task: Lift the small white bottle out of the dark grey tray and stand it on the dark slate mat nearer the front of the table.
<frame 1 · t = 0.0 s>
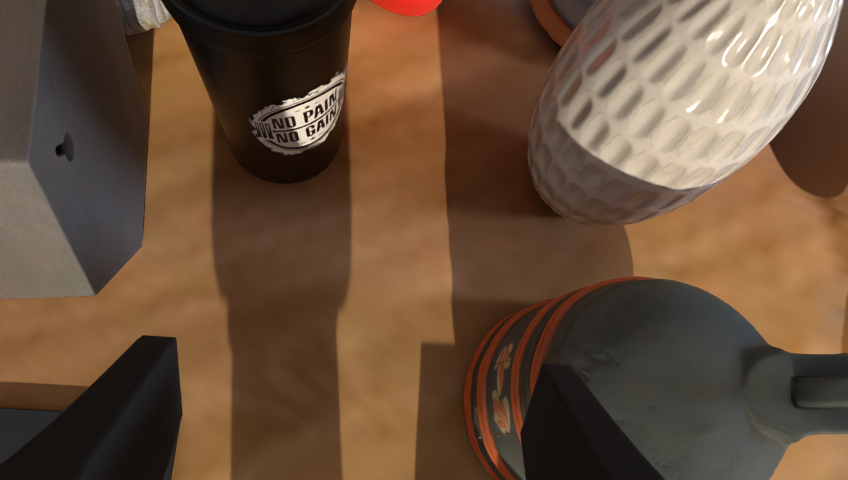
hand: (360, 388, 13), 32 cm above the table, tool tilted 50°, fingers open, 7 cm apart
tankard: (589, 402, 46), on the table
seashell: (99, 22, 50), on the table
planter: (90, 190, 46), on the table
vase: (572, 184, 51), on the table
water bottle: (285, 134, 49), on the table
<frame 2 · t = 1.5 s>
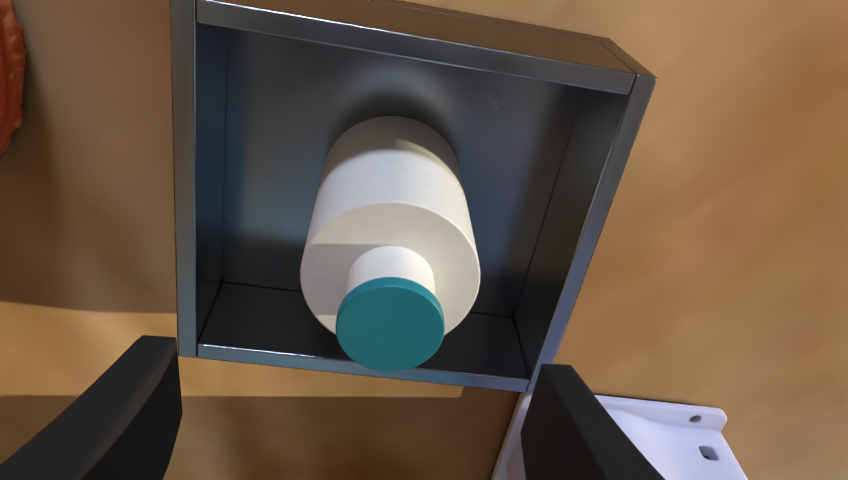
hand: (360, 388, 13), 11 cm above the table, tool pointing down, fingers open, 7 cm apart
bottle: (391, 180, 21), point 1 cm above the table, touching dark grey tray
dark grey tray: (392, 170, 22), on the table
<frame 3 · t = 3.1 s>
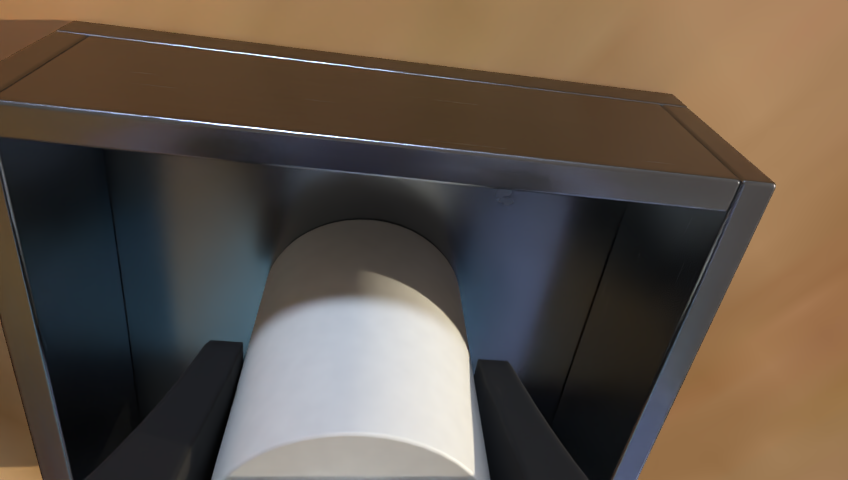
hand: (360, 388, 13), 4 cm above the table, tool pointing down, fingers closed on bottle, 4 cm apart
bottle: (363, 302, 15), point 1 cm above the table, touching dark grey tray, gripper
dark grey tray: (364, 282, 16), on the table
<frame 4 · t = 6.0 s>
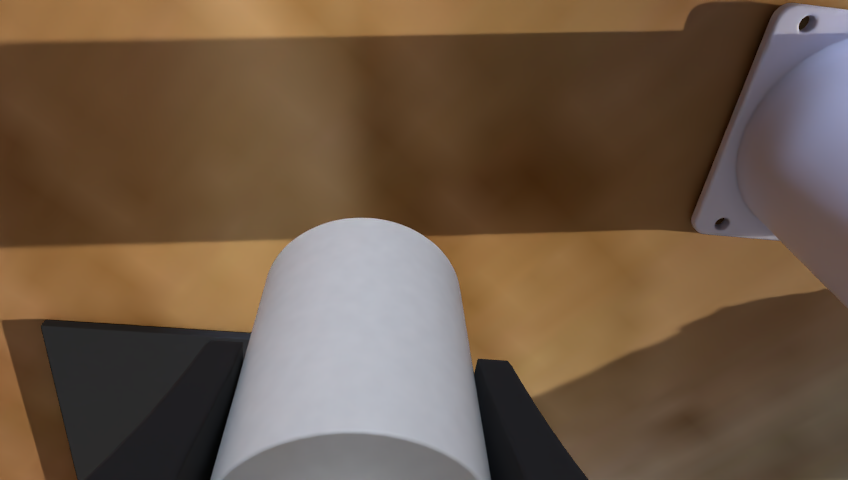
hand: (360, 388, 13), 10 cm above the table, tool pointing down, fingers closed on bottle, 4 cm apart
mat: (259, 437, 28), on the table
bottle: (363, 301, 15), point 8 cm above the table, touching gripper
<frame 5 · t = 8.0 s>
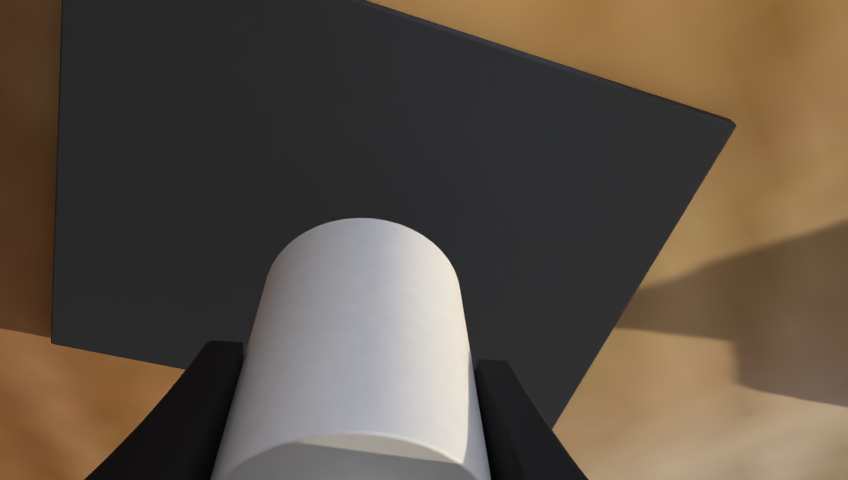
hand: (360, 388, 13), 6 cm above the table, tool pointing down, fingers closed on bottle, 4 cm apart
mat: (368, 235, 18), on the table
bottle: (363, 301, 15), point 3 cm above the table, touching gripper
when the fingers open (3 cm above the table, at t = 9.2 s): bottle stays where it is, resting on mat.
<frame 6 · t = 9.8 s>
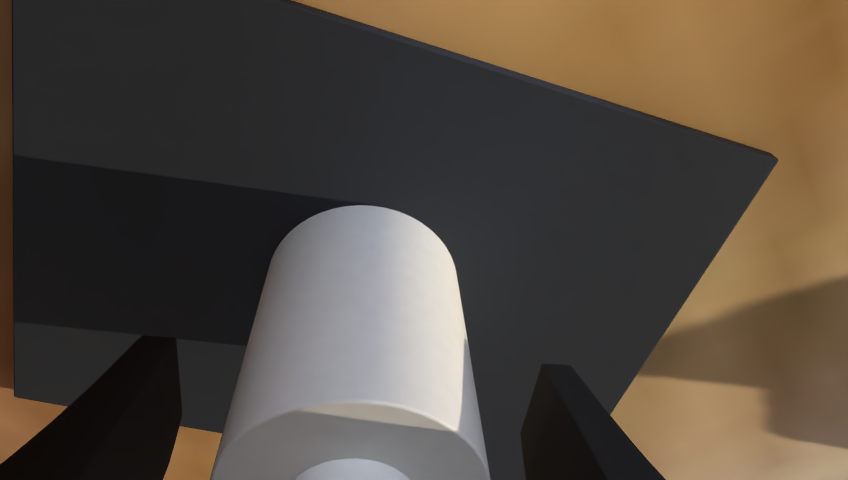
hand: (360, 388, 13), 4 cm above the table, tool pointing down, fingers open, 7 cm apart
mat: (365, 279, 16), on the table
bottle: (363, 286, 16), resting on mat
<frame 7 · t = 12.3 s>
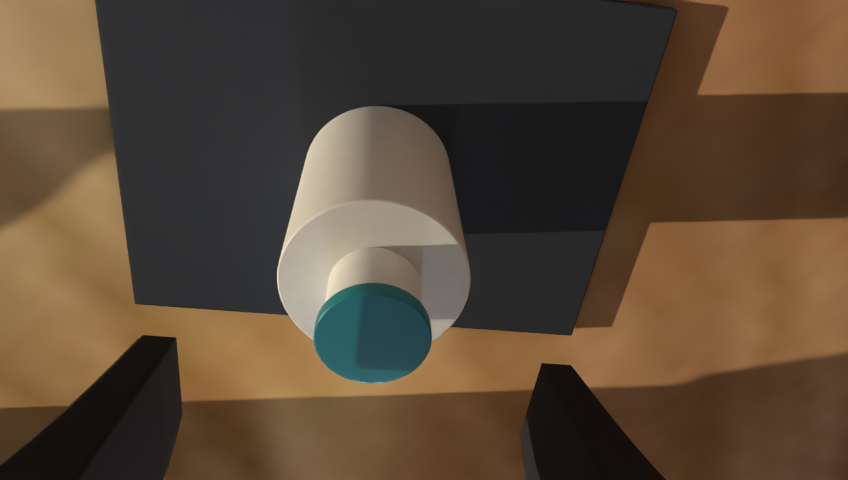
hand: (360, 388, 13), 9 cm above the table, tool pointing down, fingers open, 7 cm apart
mat: (376, 168, 21), on the table
bottle: (377, 174, 20), resting on mat
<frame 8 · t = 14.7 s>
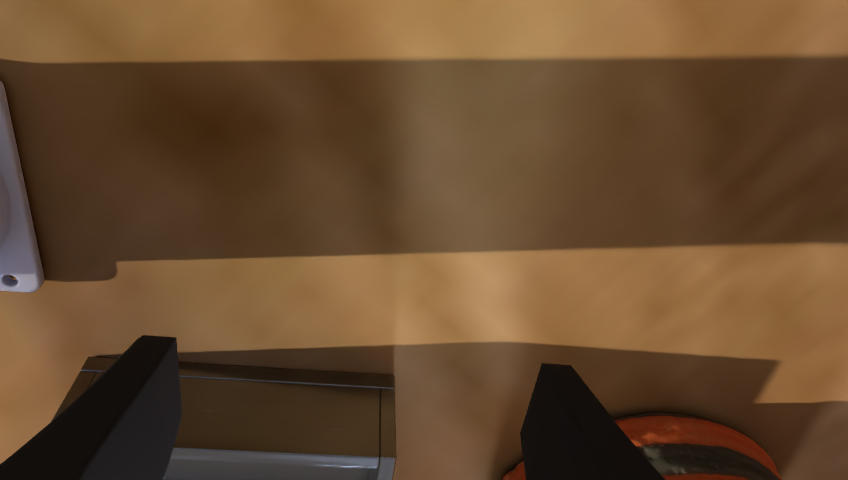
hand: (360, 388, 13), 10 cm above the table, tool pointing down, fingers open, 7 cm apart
dark grey tray: (246, 457, 29), on the table
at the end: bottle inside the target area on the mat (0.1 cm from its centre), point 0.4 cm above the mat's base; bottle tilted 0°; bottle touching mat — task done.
